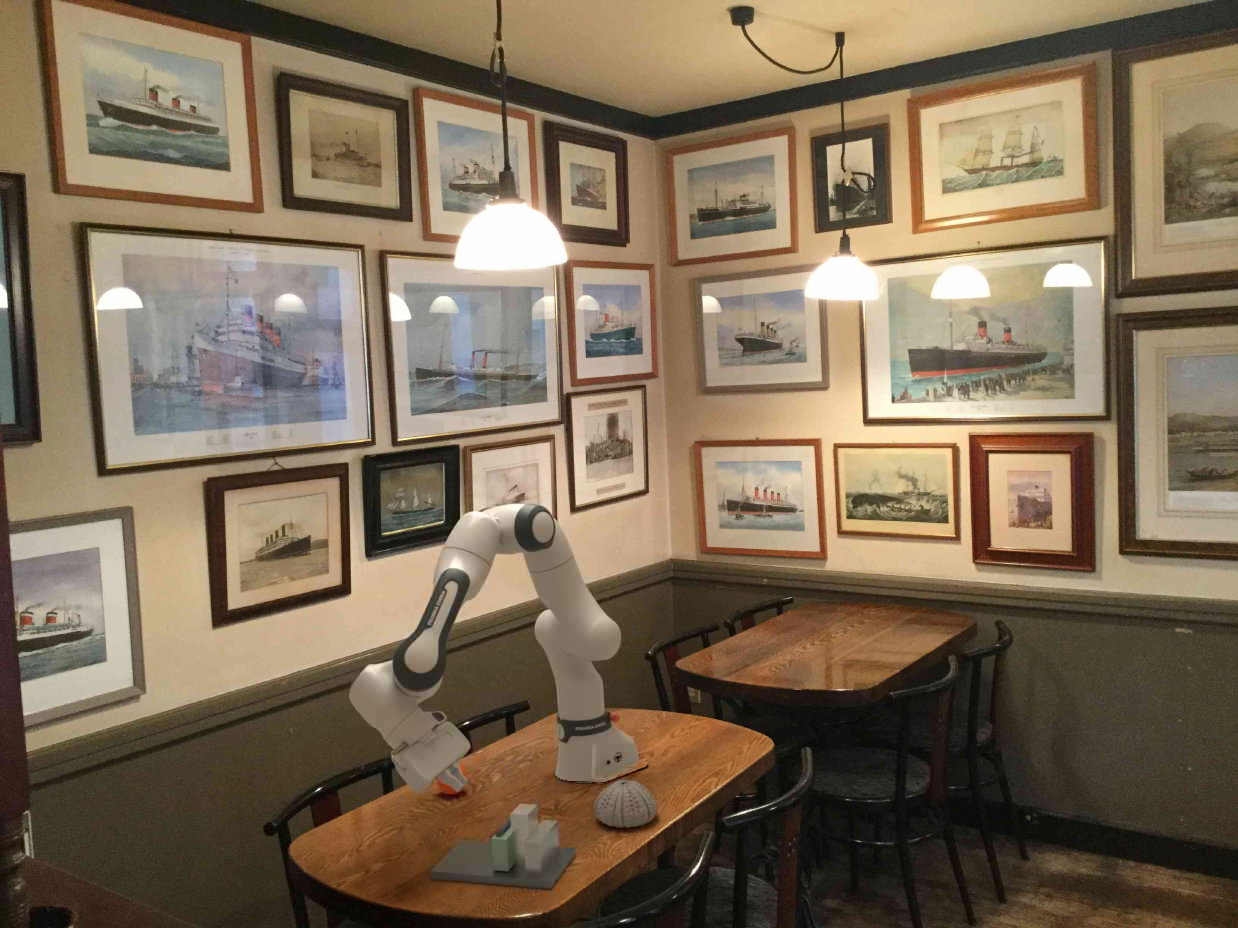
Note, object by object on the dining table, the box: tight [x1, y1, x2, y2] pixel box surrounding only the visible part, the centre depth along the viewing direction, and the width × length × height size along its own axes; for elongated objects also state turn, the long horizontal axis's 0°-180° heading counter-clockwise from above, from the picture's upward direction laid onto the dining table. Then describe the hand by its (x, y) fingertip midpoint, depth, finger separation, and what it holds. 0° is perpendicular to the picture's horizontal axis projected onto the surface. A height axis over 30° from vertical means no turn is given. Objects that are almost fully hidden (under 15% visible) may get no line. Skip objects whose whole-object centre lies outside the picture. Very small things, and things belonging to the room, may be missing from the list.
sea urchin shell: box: [592, 779, 658, 829], centre depth 210 cm, size 13×14×8 cm
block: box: [509, 803, 539, 867], centre depth 190 cm, size 4×5×10 cm
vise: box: [429, 819, 576, 890], centre depth 191 cm, size 24×14×8 cm, turn 74°
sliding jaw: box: [490, 816, 513, 871], centre depth 191 cm, size 3×10×7 cm, turn 164°
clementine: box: [436, 763, 468, 795], centre depth 230 cm, size 8×7×7 cm
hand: (463, 786), depth 193 cm, fingers closed
